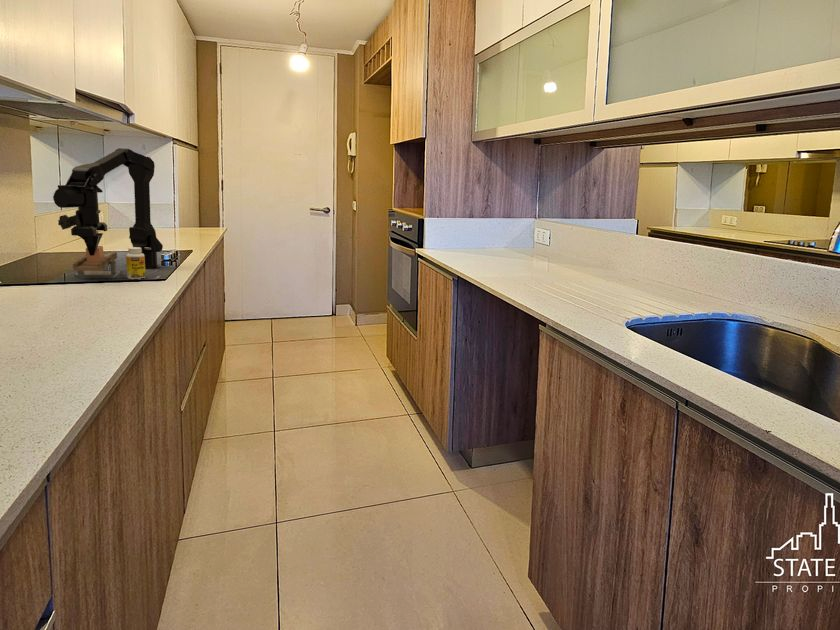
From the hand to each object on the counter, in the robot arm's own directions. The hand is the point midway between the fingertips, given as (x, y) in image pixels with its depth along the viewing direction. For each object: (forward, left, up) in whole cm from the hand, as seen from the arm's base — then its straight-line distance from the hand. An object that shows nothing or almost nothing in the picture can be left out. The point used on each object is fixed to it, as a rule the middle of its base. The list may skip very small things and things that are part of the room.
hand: (92, 255), depth 192 cm
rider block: (-4, 0, -2) cm, 5 cm away
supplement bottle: (0, +13, -8) cm, 15 cm away
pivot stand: (-5, 0, -8) cm, 9 cm away
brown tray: (-5, 0, -4) cm, 6 cm away
